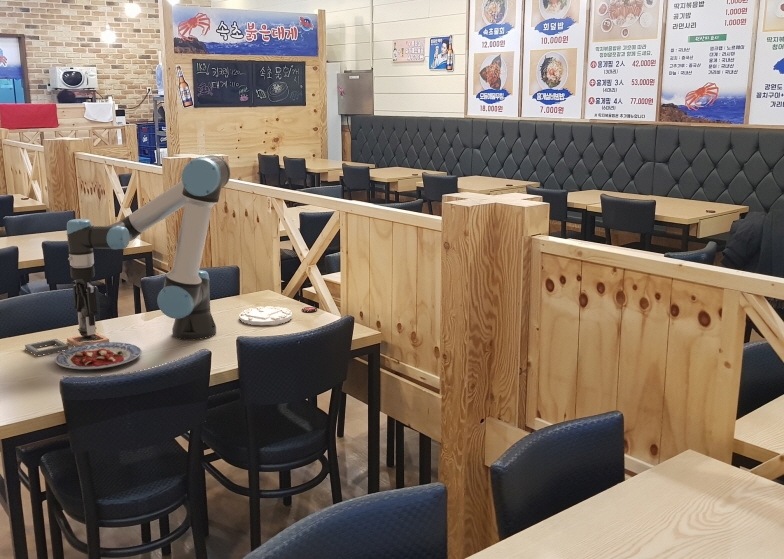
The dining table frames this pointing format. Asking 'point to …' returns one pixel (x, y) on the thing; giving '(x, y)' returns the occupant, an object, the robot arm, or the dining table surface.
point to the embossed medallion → (265, 315)
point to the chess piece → (85, 328)
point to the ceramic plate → (98, 355)
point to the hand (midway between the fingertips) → (87, 332)
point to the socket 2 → (75, 342)
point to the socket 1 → (50, 350)
